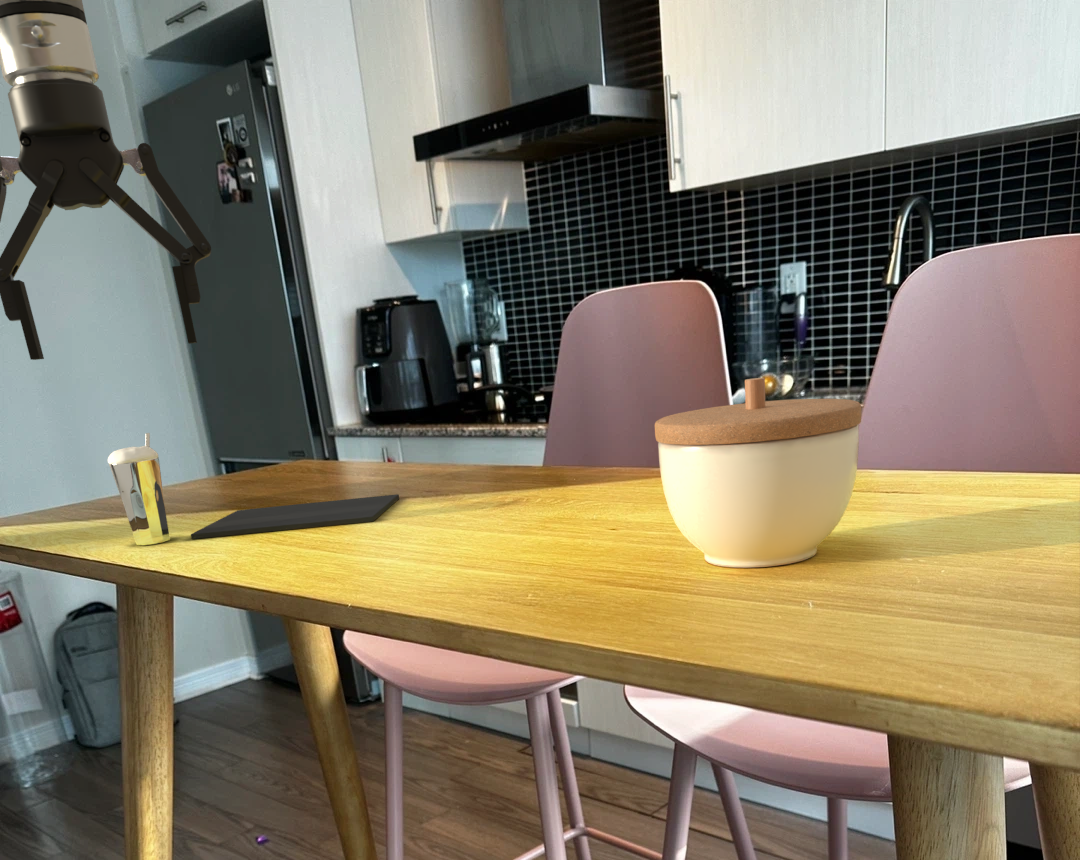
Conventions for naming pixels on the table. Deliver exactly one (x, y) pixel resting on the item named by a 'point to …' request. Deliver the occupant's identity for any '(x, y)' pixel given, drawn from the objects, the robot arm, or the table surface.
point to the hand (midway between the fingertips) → (116, 351)
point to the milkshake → (141, 492)
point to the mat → (298, 516)
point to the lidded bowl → (759, 475)
